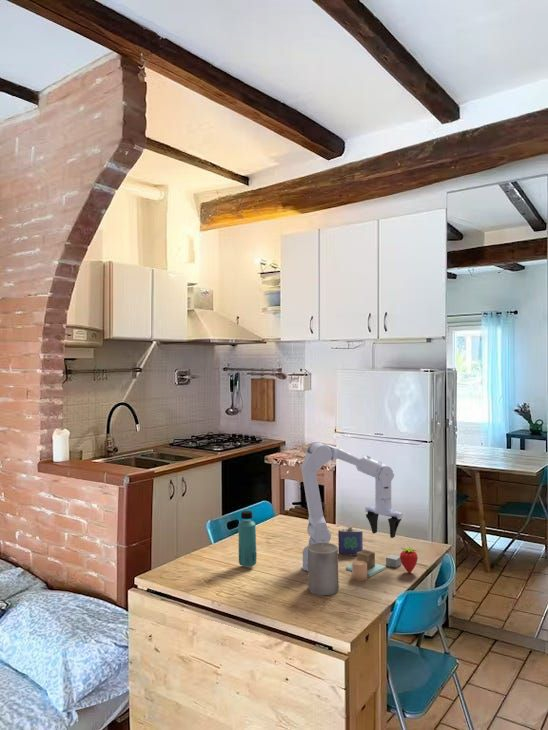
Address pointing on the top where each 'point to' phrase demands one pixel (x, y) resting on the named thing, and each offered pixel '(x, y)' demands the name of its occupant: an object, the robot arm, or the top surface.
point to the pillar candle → (323, 569)
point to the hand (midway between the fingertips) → (383, 535)
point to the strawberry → (408, 559)
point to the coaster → (370, 571)
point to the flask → (350, 541)
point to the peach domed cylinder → (359, 570)
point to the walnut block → (367, 558)
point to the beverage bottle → (247, 540)
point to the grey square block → (393, 561)
